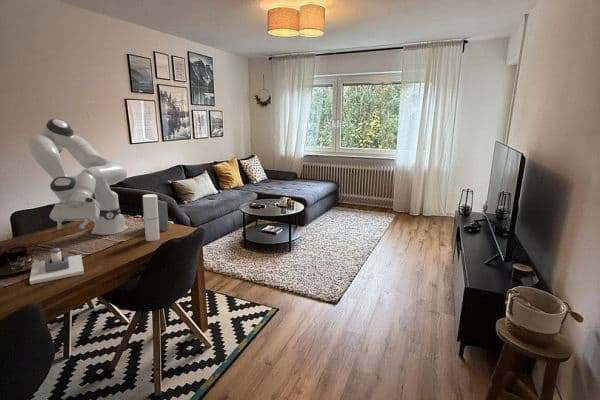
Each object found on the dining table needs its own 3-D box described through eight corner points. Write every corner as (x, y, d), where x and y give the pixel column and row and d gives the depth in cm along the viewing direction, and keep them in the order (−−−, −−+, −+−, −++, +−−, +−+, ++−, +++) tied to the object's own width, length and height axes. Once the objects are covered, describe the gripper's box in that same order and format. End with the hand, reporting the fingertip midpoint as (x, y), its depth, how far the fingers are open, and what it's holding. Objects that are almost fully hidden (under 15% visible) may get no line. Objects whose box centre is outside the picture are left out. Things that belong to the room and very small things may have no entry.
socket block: (33, 265, 144) (31, 256, 143) (81, 257, 155) (80, 248, 154) (30, 284, 129) (28, 274, 128) (84, 273, 139) (82, 264, 138)
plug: (54, 265, 143) (51, 248, 141) (63, 264, 144) (61, 247, 142) (51, 268, 139) (48, 251, 137) (60, 268, 140) (58, 250, 139)
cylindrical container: (154, 241, 178) (151, 197, 172) (142, 240, 180) (139, 196, 174) (162, 237, 185) (159, 194, 179) (151, 236, 186) (148, 193, 181)
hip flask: (143, 228, 199) (141, 196, 194) (147, 226, 203) (145, 195, 198) (166, 231, 196) (164, 199, 191) (170, 229, 199) (168, 197, 195)
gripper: (52, 199, 153) (42, 225, 146) (98, 199, 156) (90, 225, 149) (59, 205, 159) (49, 231, 152) (103, 206, 161) (96, 231, 154)
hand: (70, 228), depth 150 cm, fingers open, 8 cm apart
